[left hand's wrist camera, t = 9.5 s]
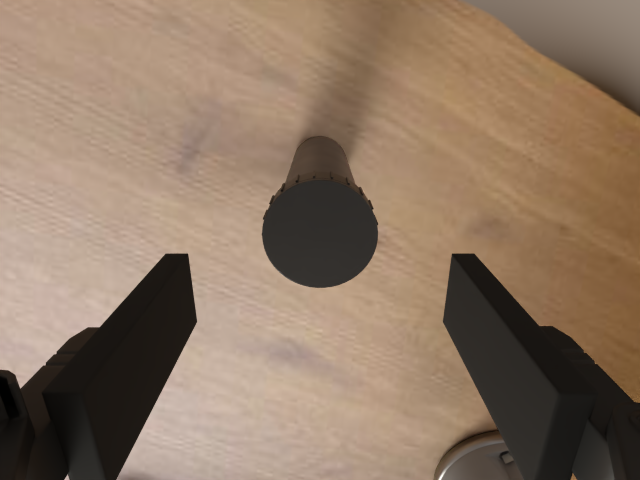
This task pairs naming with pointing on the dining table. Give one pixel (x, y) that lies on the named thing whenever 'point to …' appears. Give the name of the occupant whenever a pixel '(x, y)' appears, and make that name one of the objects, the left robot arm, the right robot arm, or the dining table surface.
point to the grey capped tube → (320, 158)
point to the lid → (320, 230)
